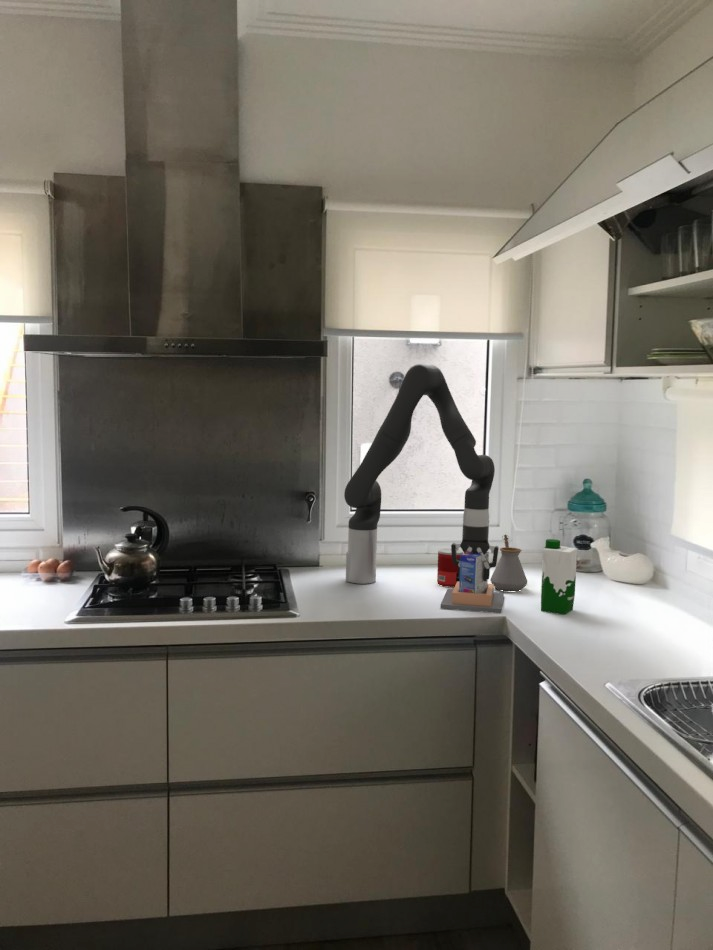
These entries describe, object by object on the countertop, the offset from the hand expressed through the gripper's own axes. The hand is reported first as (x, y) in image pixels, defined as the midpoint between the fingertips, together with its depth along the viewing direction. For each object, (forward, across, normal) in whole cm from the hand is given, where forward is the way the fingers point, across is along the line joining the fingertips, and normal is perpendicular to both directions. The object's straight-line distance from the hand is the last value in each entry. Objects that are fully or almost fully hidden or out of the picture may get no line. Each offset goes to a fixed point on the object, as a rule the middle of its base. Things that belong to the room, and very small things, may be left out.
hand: (473, 579), depth 244 cm
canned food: (+7, -9, +21) cm, 24 cm away
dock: (+7, 0, 0) cm, 7 cm away
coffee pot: (+7, +9, +25) cm, 28 cm away
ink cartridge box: (+4, 0, 0) cm, 4 cm away
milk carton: (+7, +24, -2) cm, 25 cm away
